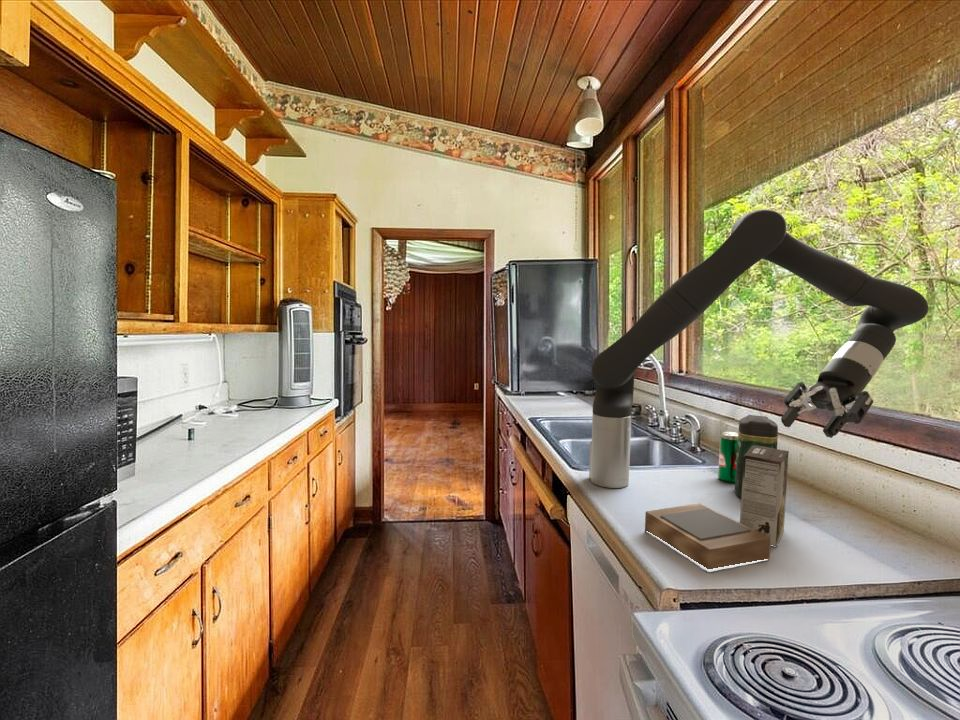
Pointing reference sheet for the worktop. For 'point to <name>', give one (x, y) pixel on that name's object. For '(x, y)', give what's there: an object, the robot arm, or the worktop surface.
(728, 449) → the soda can
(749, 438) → the coffee jar
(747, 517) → the coffee box
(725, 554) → the block
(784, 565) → the worktop surface
